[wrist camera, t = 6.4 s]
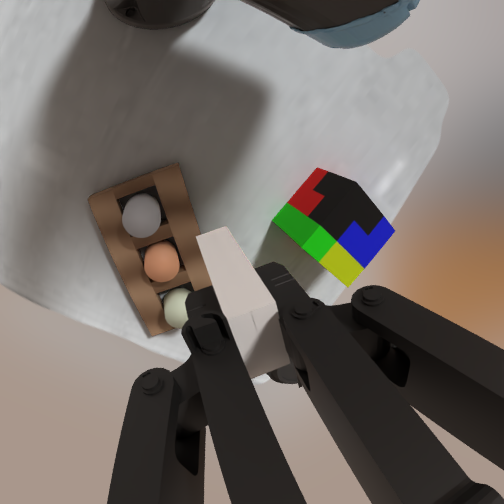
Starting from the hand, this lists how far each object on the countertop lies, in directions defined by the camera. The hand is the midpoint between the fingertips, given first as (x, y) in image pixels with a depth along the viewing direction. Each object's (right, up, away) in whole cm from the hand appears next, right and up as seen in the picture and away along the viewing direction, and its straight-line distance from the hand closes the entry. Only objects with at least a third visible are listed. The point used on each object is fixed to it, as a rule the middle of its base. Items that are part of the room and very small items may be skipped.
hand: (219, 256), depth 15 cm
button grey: (-12, +5, +22) cm, 26 cm away
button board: (-11, 0, +27) cm, 29 cm away
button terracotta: (-11, 0, +26) cm, 29 cm away
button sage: (-9, -7, +29) cm, 31 cm away
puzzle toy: (+11, +6, +31) cm, 34 cm away
